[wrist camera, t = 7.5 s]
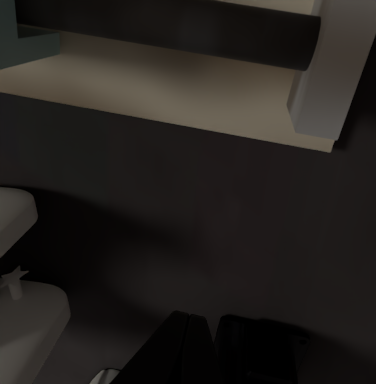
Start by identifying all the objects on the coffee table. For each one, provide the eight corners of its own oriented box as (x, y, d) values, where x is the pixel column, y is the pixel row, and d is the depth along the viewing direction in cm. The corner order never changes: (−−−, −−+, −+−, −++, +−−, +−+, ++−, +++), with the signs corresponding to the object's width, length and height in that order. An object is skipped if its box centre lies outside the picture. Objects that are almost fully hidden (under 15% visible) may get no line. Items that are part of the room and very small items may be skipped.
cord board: (326, 145, 19) (351, 192, 14) (-115, 65, 21) (-223, 83, 16) (406, -86, 14) (483, -130, 10) (-175, -161, 16) (-353, -230, 12)
